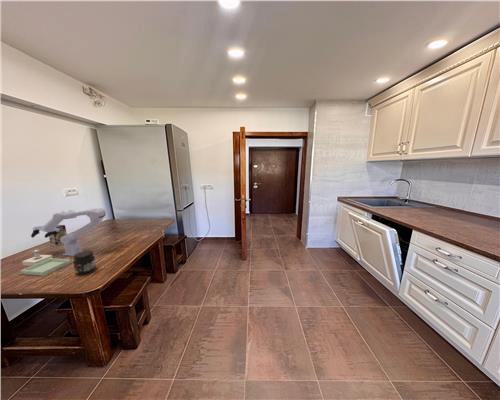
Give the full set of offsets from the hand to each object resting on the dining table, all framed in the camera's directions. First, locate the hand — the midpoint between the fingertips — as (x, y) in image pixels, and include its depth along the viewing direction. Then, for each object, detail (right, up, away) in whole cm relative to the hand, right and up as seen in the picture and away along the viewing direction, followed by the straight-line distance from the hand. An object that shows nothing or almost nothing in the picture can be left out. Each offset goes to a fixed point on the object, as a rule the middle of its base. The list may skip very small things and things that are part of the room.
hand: (38, 236), depth 138 cm
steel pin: (+9, -16, -8) cm, 21 cm away
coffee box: (-8, -11, +23) cm, 27 cm away
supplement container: (+53, -19, -20) cm, 60 cm away
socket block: (+9, -16, -8) cm, 21 cm away
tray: (+24, -18, -16) cm, 34 cm away
